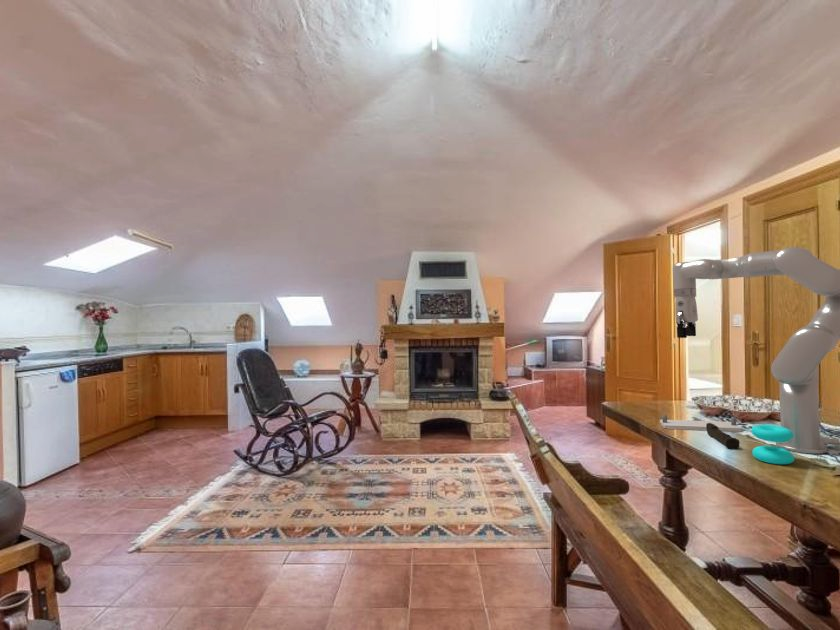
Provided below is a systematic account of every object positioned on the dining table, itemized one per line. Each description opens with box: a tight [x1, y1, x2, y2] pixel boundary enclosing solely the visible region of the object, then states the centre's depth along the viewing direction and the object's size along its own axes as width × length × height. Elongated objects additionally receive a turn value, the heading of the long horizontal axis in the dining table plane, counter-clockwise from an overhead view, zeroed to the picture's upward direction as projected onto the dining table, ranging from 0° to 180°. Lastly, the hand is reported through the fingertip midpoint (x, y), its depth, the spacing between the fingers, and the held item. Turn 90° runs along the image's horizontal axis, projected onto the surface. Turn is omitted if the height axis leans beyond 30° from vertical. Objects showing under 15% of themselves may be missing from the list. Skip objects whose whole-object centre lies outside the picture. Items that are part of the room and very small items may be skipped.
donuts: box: [750, 424, 795, 465], centre depth 128 cm, size 10×10×10 cm
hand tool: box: [706, 423, 740, 450], centre depth 148 cm, size 19×4×5 cm, turn 165°
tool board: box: [659, 414, 743, 433], centre depth 164 cm, size 26×9×4 cm, turn 71°
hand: (686, 336), depth 163 cm, fingers open, 9 cm apart
